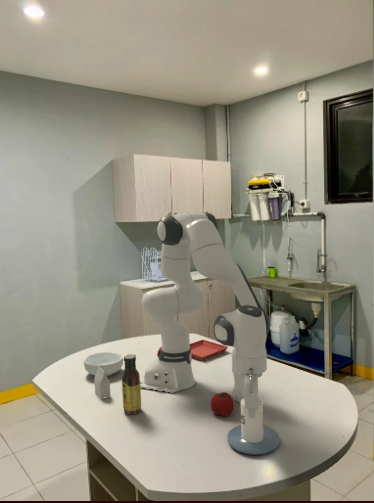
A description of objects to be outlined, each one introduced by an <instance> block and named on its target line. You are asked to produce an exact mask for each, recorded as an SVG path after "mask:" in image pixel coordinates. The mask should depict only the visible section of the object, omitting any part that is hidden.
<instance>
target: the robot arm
mask: <svg viewBox="0 0 374 503" xmlns="http://www.w3.org/2000/svg"><path fill="white" fill-rule="evenodd" d="M218 229H219V226H218V221H217V218H216V217H215V215H214V214H212V213H210V212H205V211H202V212H197V211H195V212H191V211H190V212H184V213H178V214H168V215H164V216H162V217H160V219H159V221H158V222H157V226H156V231H157V232H156V233H157V237H158V240H159V241H160V242H161V244H162V245H161V253H160V254H161V255H160V256H161V257H160V258H161V260H160V262H161V263H160V272H161V275H162V277H164V278H165V279H166V280H168V281H171V282H173V283H174V286H171V287H162V288H155V289H151V290H148V291H146V292H145V293H143V296H142V298H141V309H142V311H143V313H144V314H146V315H147V317H149V318H151V319H152V320H153V321H155V323H156V324H157V327H158V328H159V330H160V337H161V339H160V340H161V345H160V346H159V348H158V350H157V352H156V356H157V358H156V359H154V360H153V361H151V363H149V364H148V365H147V367H146V368H145V372H144V375H143V376H142V377H141V378H140V388H141V389H142V388H145V389H144V390H149V389H153V390H152V391H155V390H158V391H157V392H162V391H165V392H164V393H168V392H170V394H174V393H177V392H179V391H183V390H187V389H190V388H192V387H193V386H195V384H196V380H195V376H194V372H193V368H192V358H193V357H192V354H191V348H190V344H191V342H190V329H189V328H188V326H187V325H185V324H183V323H181V322H179V321H176V319H175V316H177V315H183V314H191V313H194V312H197V311H200V310H202V309H203V308H204V306H205V304H206V295H205V292H204V290H203V289H202V288H201V287H200V286H199V285H198V284H197V283H195V281H194V280H193V278H192V275H191V274H192V273H191V259H192V262H193V265H194V267H195V270H196V271H197V272H198V273H199V274H200V275H202V276H203V277H205V278H207V279H210V280H213V281H214V280H215V281H219V282H221V283H224V284H226V285H228V286H229V287H230V288H231V289H232V291H233V293H234V295H235V296H236V298H237V300H238V302H239V304H240V306H238V308H236V310H234V311H231V312H226V313H222V314H220V315H219V314H218V316H217V317H216V319H215V320H214V322H213V323H214V324H213V335H214V338H215V339H216V340H217V341H218V343H220V345H224V346H227V347H233V348H234V347H235V348H236V369H237V371H239V372H240V374H241V375H242V376H243V377H245V380H244V400H245V408H246V409H248V412H249V418H255V409H258V399H259V378H261V377H262V376H263V373H265V372H266V371H268V370H267V369H268V366H267V364H268V361H267V360H268V359H267V355H268V354H267V349H266V342H267V336H268V334H269V331H270V329H271V320H270V317H269V315H268V313H267V312H266V311H265V309H264V308H263V307H262V305H261V304H260V302H259V299H258V298H257V295H256V294H255V292H254V290H253V288H252V286H251V284H250V281H249V280H248V278H247V276H246V275H245V272H244V271H243V269H242V267H241V266H240V264H238V263H236V262H235V261H234V260H233V258H231V257H230V255H229V253H228V252H227V250H226V248H225V245H224V243H223V240H222V238H221V236H220V232H219V231H218Z"/></svg>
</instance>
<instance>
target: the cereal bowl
mask: <svg viewBox="0 0 374 503" xmlns="http://www.w3.org/2000/svg"><path fill="white" fill-rule="evenodd" d="M123 364H124V355H123V354H122V353H119V352H114V351H104V352H96V353H93V354H90V355H87V356H86V357H85V358H84V360H83V366H84V370H85V371H86V372H87V373H88V374H90V375H92V376H95V375H96V373H97V370H98V367H100V368H101V369H102V370H103V371H104V372H105V374H106V376H107V377H110V376H112V375H113V374H116V373H117V372H119V371H120V370H121V369H122V367H123ZM109 375H110V376H109Z"/></svg>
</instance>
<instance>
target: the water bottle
mask: <svg viewBox="0 0 374 503" xmlns="http://www.w3.org/2000/svg"><path fill="white" fill-rule="evenodd" d="M231 365H232V366H231V371H232V374H233V379H234V387H233V390H232V398H233V401H235V402H237V403H238V404H240V405H241V400H242V399H244V380H245V377H243V376H242V375H241V374H240V372H239V371H237V369H236V348H235V347H234V346H233V349H232V351H231Z"/></svg>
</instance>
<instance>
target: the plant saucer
mask: <svg viewBox="0 0 374 503" xmlns="http://www.w3.org/2000/svg"><path fill="white" fill-rule="evenodd" d="M190 348H191V354H192V358H193V359H196V360H198V361H199V360H200V361H202V362H203V361H206V360H208V359H212V358H214V357H217V356H219V355H221V354H224V353H225V352H226V351H227V349H228V348H229V346H226V345H223V344H221V343H220V344H219V343H216V342H213V341H210V340H206V339H200V340H197V341H194V342H192V343H191V342H190Z"/></svg>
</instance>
